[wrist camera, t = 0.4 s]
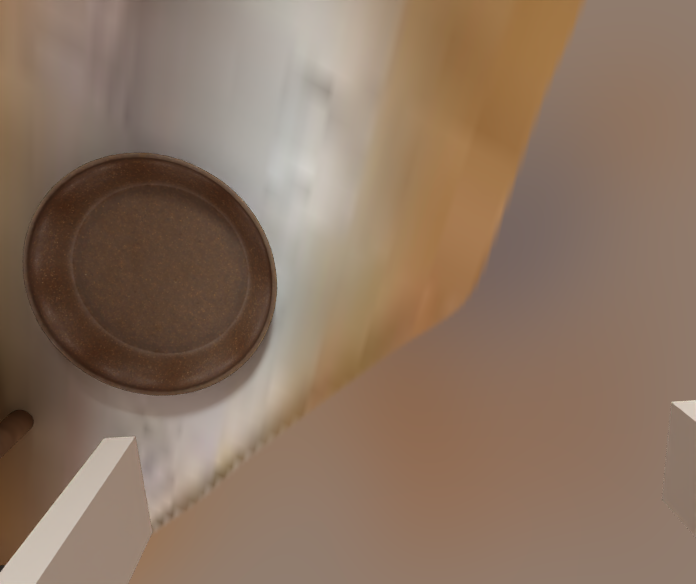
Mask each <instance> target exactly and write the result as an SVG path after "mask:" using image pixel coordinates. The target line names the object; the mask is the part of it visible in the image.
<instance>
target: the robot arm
mask: <svg viewBox="0 0 696 584" xmlns="http://www.w3.org/2000/svg"><path fill="white" fill-rule="evenodd" d="M662 500H663V502H664V503H665V504H666V505H667V506H668V507H669V508H670V509H671V511H672V512H673V513H674V514H675V515H676V516H677V517H678V518H679V520H680V521H681V522H682V523H683V524H684V525H685V526H686V527H687V529H689V531H690V532H691V533H692V534H693V535H694V536H695V538H696V400H693V401H679V402H671V409H670V420H669V431H668V441H667V451H666V462H665V473H664V482H663V493H662ZM151 534H152V527H151V521H150V516H149V510H148V504H147V499H146V493H145V488H144V482H143V476H142V471H141V465H140V459H139V454H138V448H137V443H136V437H135V436H131V437H115V438H104V439H103V440H102V442H101V443H100V444H99V445H98V447H97V448H96V449H95V451H94V452H93V453H92V454H91V456H90V457H89V458H88V460H87V461H86V462H85V463H84V465H83V466H82V467H81V469H80V470H79V471H78V473H77V474H76V475H75V476H74V478H73V479H72V480H71V482H70V483H69V484H68V485H67V487H66V488H65V489H64V491H63V492H62V493H61V494H60V496H59V497H58V498H57V500H56V501H55V502H54V504H53V505H52V506H51V507H50V509H49V510H48V511H47V513H46V514H45V515H44V516H43V518H42V519H41V520H40V522H39V523H38V524H37V525H36V527H35V528H34V529H33V531H32V532H31V533H30V535H29V536H28V537H27V538H26V540H25V541H24V542H23V544H22V545H21V546H20V547H19V549H18V550H17V551H16V553H15V554H14V555H13V556H12V558H11V559H10V560H9V562H8V563H7V564H6V565H1V566H0V584H128V583H129V581H130V579H131V577H132V575H133V572H134V570H135V568H136V566H137V564H138V562H139V560H140V558H141V555H142V554H143V551H144V549H145V547H146V545H147V543H148V541H149V539H150V536H151Z"/></svg>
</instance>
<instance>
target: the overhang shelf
mask: <svg viewBox="0 0 696 584" xmlns="http://www.w3.org/2000/svg"><path fill="white" fill-rule="evenodd" d="M32 426H33V419H32V417H31V415H30V414H29V413H27V412H26V411H23V410H16V411H14V412H12V413H11V414H10V415H9V416H8V417H6V418H5V419H4V420H3V421H2V422H1V423H0V458H1V457H2V456H3V455H4V454H5V453H6V452H7V451H8V450H9V449H10V448H11V447H12V446H13V445H14V444H15V443H16V442H17V441H18V440H19V439H21V438H22V437H23V436H24V435H25V434H26V433H27V432H28V431H29V430H30V429H31V428H32Z"/></svg>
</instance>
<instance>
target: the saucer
mask: <svg viewBox="0 0 696 584" xmlns="http://www.w3.org/2000/svg"><path fill="white" fill-rule="evenodd" d="M23 274H24V283H25V288H26V292H27V296H28V299H29V302H30V305H31V308H32V311H33V313H34V315H35V317H36V319H37V321H38V323H39V325H40V326H41V328H42V330H43V331H44V333H45V334H46V335H47V337H48V338H49V339H50V341H51V342H52V343H53V344H54V346H55V347H56V348H57V349H58V350H59V351H60V352H61V353H62V354H63V355H64V356H65V357H66V358H67V359H68V360H69V361H70V362H72V363H73V364H74V365H75V366H77V367H78V368H80V369H81V370H82V371H84V372H85V373H87V374H89V375H90V376H92V377H94V378H95V379H97V380H99V381H101V382H104V383H106V384H108V385H111V386H113V387H116V388H120V389H122V390H126V391H130V392H135V393H140V394H147V395H177V394H184V393H189V392H194V391H197V390H201V389H203V388H206V387H209V386H211V385H213V384H216V383H218V382H220V381H221V380H223V379H225V378H226V377H228V376H229V375H231V374H232V373H234V372H235V371H237V370H238V369H239V368H240V367H241V366H242V365H243V364H244V363H245V362H246V361H247V360H248V359H249V358H250V357H251V356H252V355H253V353H254V352H255V351H256V350H257V348H258V347H259V345H260V343H261V342H262V340H263V339H264V336H265V334H266V332H267V330H268V328H269V325H270V322H271V320H272V317H273V313H274V309H275V302H276V297H277V277H276V269H275V263H274V258H273V254H272V251H271V248H270V245H269V242H268V240H267V237H266V235H265V233H264V231H263V229H262V227H261V225H260V223H259V221H258V220H257V218H256V217H255V215H254V214H253V212H252V211H251V210H250V208H249V207H248V206H247V204H246V203H245V202H244V201H243V200H242V199H241V197H239V196H238V195H237V194H236V193H235V192H234V191H233V190H232V189H231V188H230V187H229V186H227V185H226V184H225V183H223V182H222V181H221V180H219V179H218V178H216V177H215V176H213V175H212V174H210V173H208V172H207V171H205V170H203V169H201V168H199V167H197V166H195V165H192V164H190V163H188V162H185V161H183V160H180V159H176V158H173V157H169V156H164V155H159V154H152V153H125V154H116V155H111V156H107V157H103V158H100V159H97V160H94V161H91V162H89V163H86V164H85V165H83V166H81V167H79V168H77V169H75V170H73V171H72V172H70V173H69V174H67V175H66V176H65V177H64V178H62V179H61V180H60V181H59V182H58V183H57V184H56V185H55V186H54V187H52V189H51V190H50V191H49V192H48V193H47V195H46V196H45V197H44V198H43V200H42V201H41V203H40V204H39V206H38V208H37V209H36V211H35V213H34V215H33V217H32V220H31V222H30V225H29V227H28V231H27V234H26V238H25V243H24V250H23Z"/></svg>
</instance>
